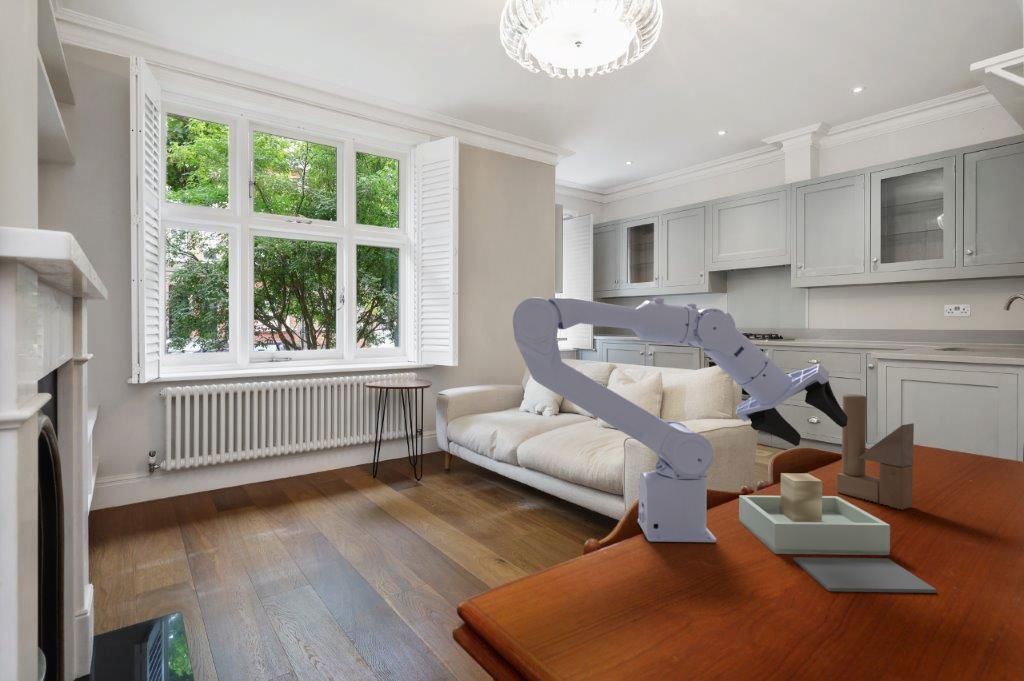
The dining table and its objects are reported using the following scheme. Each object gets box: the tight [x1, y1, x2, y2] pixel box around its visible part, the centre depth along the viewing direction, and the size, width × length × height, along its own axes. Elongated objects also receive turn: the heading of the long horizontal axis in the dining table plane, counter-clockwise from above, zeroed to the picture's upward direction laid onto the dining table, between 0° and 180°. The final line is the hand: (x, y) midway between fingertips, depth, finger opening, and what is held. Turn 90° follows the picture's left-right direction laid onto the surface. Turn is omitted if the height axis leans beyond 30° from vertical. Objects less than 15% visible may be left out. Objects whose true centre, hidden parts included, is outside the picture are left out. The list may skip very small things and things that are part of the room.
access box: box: [738, 494, 891, 556], centre depth 76 cm, size 15×12×4 cm
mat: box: [793, 556, 937, 594], centre depth 64 cm, size 12×8×1 cm, turn 88°
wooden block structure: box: [836, 393, 915, 511], centre depth 92 cm, size 4×11×18 cm, turn 27°
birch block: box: [780, 472, 823, 522], centre depth 78 cm, size 4×4×6 cm
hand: (820, 431), depth 77 cm, fingers open, 7 cm apart
